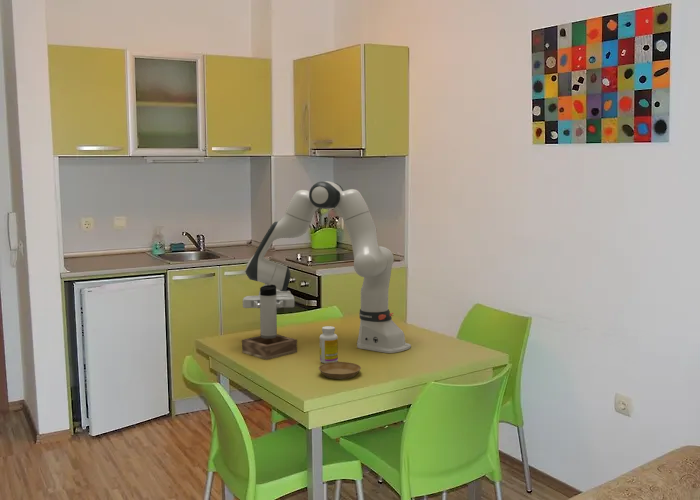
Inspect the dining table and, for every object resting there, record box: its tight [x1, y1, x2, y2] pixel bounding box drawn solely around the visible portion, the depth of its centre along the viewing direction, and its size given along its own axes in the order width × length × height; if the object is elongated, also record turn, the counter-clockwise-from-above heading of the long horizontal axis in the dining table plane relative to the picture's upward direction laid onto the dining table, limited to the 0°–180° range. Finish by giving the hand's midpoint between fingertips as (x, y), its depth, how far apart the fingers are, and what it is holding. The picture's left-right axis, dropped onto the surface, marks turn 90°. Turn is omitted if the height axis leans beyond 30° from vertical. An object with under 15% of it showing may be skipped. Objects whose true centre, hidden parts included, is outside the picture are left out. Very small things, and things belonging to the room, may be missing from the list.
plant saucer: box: [318, 361, 362, 380], centre depth 250 cm, size 15×15×3 cm
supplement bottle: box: [319, 325, 339, 364], centre depth 264 cm, size 7×7×13 cm
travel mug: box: [259, 285, 278, 339], centre depth 277 cm, size 6×7×20 cm
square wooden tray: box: [241, 333, 298, 360], centre depth 278 cm, size 15×15×5 cm
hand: (268, 305), depth 275 cm, fingers closed on travel mug, 6 cm apart
